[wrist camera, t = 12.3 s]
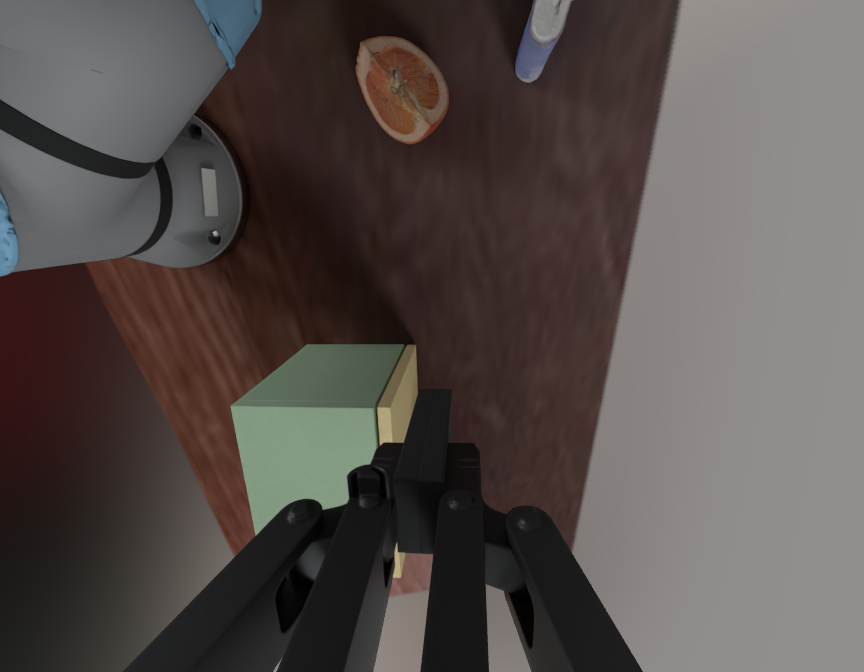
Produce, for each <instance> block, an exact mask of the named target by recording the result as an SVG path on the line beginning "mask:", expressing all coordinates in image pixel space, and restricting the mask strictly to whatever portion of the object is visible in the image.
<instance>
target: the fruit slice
mask: <svg viewBox="0 0 864 672" xmlns="http://www.w3.org/2000/svg"><path fill="white" fill-rule="evenodd" d="M357 62H358V63H357V65H356V74H357V78H358V82H359V85H360V87H361V90H362V93H363V95H364V98H365V100H366V102H367V104H368V106H369V108H370V110H371V112H372V114H373V116H374V117H375V119H376V120H377V122H378V123H379V124H380V126H381V127H382V128H383V129H384V130H385V131H386V132H387V134H389V135H390V136H391V137H392V138H394V139H396V140H398V141H400V142H403V143H406V144H415V143H418V142H420V141H421V140H423V139H424V138H426V137H427V136H428V135H430V134H431V133H432V132H433V131H434V130H435V129H436V127H437V126H438V125H439V124H440V122H441V121H442V120H443V119H444V117H445V115H446V112H447V109H448V106H449V90H448V87H447V84H446V81H445V79H444V77H443V75H442V73H441V71H440V70H439V68H438V67H437V66H436V64H435V63H434V62H433V61H432V60H431V59H430V58H429V57H428V56H427V55H426V54H425V53H424V52H423V51H422V50H420V49H419V48H418V47H417V46H415V45H414V44H412V43H411V42H409V41H407V40H405V39H402V38H398V37H392V36H389V37H388V36H379V37H375V38H370V39H367V40H365V41H362V42H361V43H360V50H359V56H357Z"/></svg>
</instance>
